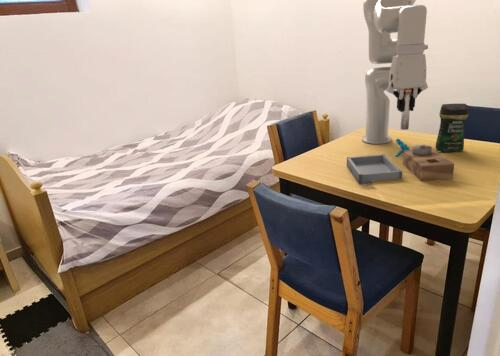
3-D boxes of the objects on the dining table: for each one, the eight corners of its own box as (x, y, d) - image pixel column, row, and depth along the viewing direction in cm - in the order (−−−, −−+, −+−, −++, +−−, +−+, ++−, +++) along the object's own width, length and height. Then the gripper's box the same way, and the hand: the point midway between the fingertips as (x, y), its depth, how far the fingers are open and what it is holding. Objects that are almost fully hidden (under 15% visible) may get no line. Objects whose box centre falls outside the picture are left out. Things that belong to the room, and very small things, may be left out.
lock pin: (398, 128, 121) (400, 88, 116) (407, 127, 121) (409, 87, 116) (401, 130, 118) (404, 89, 113) (411, 129, 118) (413, 88, 113)
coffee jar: (438, 154, 142) (443, 106, 135) (433, 147, 149) (438, 102, 142) (465, 153, 139) (472, 105, 132) (459, 147, 146) (465, 101, 139)
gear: (417, 159, 134) (397, 139, 135) (404, 169, 137) (385, 150, 138) (417, 153, 144) (399, 135, 145) (405, 163, 147) (387, 145, 148)
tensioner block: (402, 166, 133) (403, 143, 130) (430, 164, 132) (432, 141, 129) (420, 183, 118) (423, 158, 115) (452, 181, 118) (455, 155, 114)
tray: (346, 165, 138) (346, 157, 137) (383, 163, 138) (384, 154, 137) (359, 184, 122) (359, 174, 120) (401, 181, 121) (402, 171, 120)
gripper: (430, 47, 114) (425, 105, 121) (378, 52, 114) (376, 110, 121) (442, 48, 107) (436, 110, 114) (387, 53, 107) (384, 115, 114)
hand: (405, 110), depth 117 cm, fingers closed on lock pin, 2 cm apart
